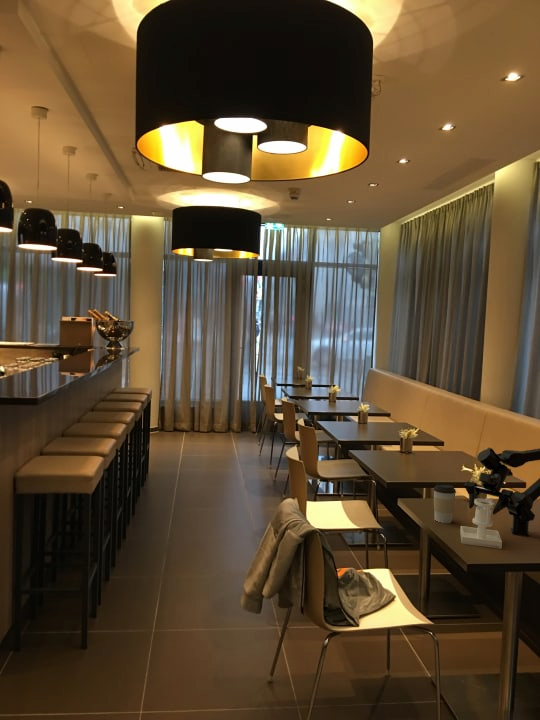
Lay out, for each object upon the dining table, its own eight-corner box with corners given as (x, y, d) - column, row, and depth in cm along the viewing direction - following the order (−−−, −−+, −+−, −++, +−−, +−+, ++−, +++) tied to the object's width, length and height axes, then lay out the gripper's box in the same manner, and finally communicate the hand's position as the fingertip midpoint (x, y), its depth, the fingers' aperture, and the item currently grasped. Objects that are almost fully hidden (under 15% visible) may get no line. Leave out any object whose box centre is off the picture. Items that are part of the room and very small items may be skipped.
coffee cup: (456, 520, 241) (458, 484, 241) (451, 525, 234) (453, 488, 233) (434, 516, 246) (436, 480, 245) (429, 521, 238) (431, 484, 238)
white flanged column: (494, 541, 214) (498, 501, 213) (477, 541, 213) (481, 501, 212) (484, 534, 221) (487, 495, 220) (467, 534, 220) (471, 495, 219)
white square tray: (460, 532, 225) (460, 525, 225) (497, 537, 222) (497, 530, 222) (461, 543, 212) (462, 536, 212) (501, 548, 209) (501, 541, 208)
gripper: (467, 460, 226) (451, 492, 219) (515, 469, 213) (499, 504, 205) (476, 477, 232) (461, 509, 225) (523, 487, 218) (508, 522, 211)
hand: (481, 511), depth 216 cm, fingers open, 9 cm apart
